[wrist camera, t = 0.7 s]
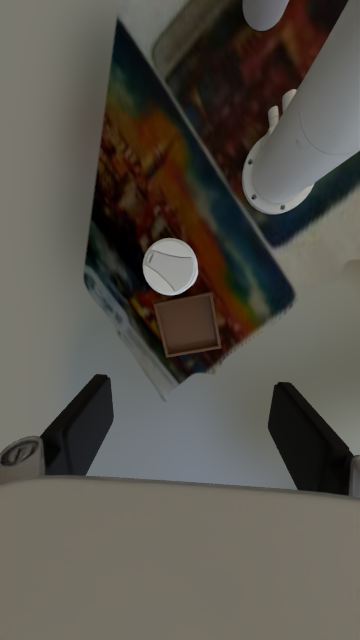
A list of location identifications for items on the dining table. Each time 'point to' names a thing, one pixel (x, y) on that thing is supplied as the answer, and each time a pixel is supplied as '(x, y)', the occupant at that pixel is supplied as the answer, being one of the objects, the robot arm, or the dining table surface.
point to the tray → (188, 324)
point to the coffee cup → (263, 13)
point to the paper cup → (170, 266)
